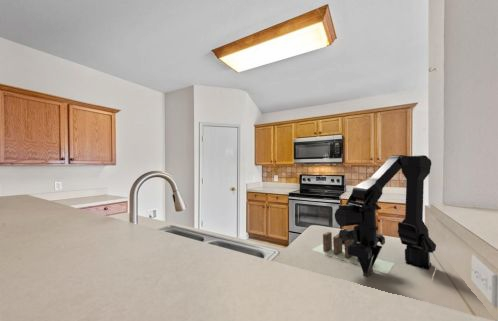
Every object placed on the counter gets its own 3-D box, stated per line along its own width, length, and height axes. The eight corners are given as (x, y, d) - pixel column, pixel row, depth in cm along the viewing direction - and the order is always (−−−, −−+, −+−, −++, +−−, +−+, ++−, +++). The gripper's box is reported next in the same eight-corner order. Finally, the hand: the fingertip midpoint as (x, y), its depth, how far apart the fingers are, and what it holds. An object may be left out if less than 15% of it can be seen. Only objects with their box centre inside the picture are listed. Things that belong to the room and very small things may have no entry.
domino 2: (342, 251, 87) (341, 234, 87) (337, 255, 84) (336, 237, 84) (339, 250, 88) (338, 234, 88) (333, 254, 85) (333, 236, 85)
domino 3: (353, 254, 84) (353, 237, 84) (348, 258, 80) (348, 240, 80) (350, 253, 85) (349, 236, 85) (345, 257, 81) (344, 239, 81)
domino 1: (332, 248, 90) (331, 232, 90) (326, 252, 87) (326, 235, 87) (328, 247, 91) (328, 231, 91) (323, 251, 88) (322, 234, 88)
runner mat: (394, 264, 76) (394, 263, 76) (387, 275, 69) (387, 273, 69) (322, 244, 96) (322, 243, 96) (311, 250, 89) (311, 249, 89)
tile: (372, 272, 71) (372, 251, 71) (367, 278, 67) (367, 256, 67) (368, 271, 72) (367, 250, 72) (363, 276, 68) (362, 255, 68)
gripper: (352, 214, 82) (353, 254, 82) (330, 224, 69) (331, 271, 69) (384, 219, 74) (386, 263, 74) (366, 231, 61) (368, 285, 61)
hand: (367, 270), depth 69 cm, fingers closed on tile, 5 cm apart
